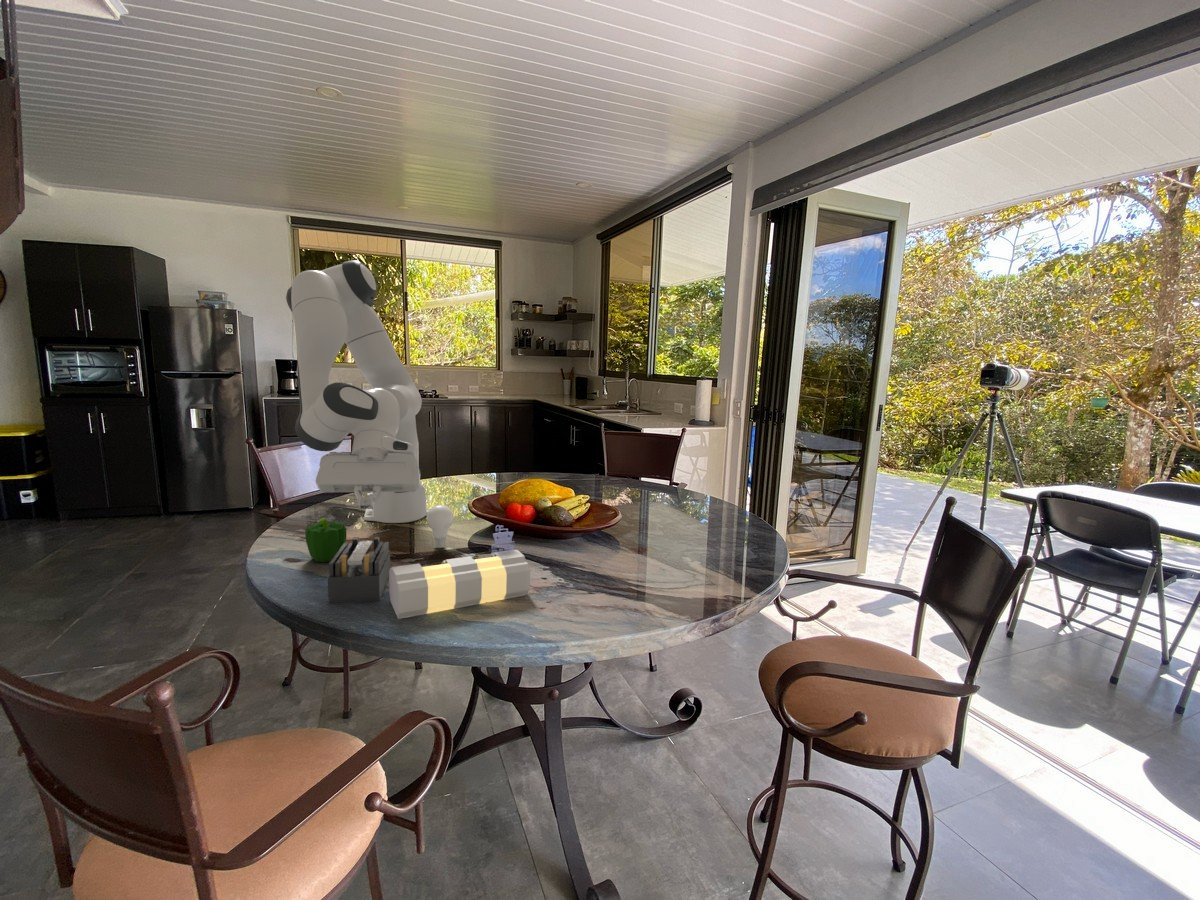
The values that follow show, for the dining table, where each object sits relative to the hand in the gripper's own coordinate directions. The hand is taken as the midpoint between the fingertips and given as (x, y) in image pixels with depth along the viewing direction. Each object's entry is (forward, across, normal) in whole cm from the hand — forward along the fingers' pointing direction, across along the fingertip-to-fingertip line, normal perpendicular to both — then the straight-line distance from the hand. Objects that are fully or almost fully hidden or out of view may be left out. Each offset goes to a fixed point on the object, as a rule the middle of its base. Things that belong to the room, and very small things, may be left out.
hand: (365, 507), depth 108 cm
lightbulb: (-2, +13, +24) cm, 28 cm away
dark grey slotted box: (+14, 0, +8) cm, 16 cm away
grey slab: (+9, 0, +4) cm, 9 cm away
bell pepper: (+2, -12, +21) cm, 24 cm away
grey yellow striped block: (+19, +19, +4) cm, 27 cm away
